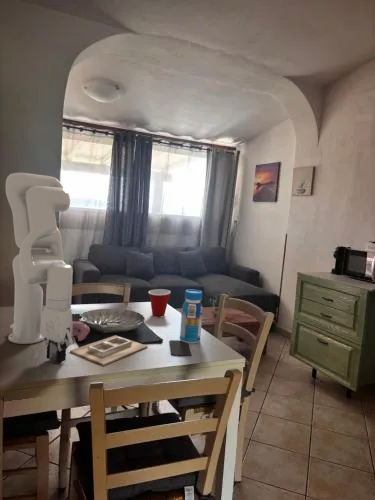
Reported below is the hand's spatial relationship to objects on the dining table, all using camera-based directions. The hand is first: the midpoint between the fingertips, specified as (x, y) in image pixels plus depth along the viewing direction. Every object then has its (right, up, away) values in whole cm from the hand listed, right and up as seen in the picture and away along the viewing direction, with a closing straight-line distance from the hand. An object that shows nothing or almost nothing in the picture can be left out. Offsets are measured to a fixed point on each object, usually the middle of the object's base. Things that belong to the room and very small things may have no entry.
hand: (56, 358), depth 118 cm
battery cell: (0, -1, 0) cm, 1 cm away
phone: (+39, -3, +20) cm, 44 cm away
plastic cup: (+28, +3, +61) cm, 67 cm away
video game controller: (0, +1, +23) cm, 23 cm away
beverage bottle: (+43, -1, +30) cm, 52 cm away
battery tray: (+15, -1, +13) cm, 20 cm away
